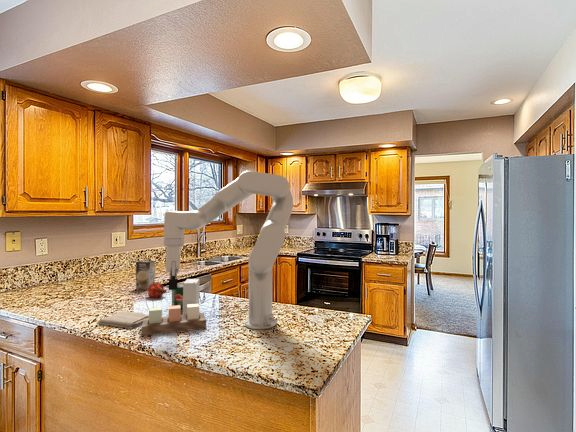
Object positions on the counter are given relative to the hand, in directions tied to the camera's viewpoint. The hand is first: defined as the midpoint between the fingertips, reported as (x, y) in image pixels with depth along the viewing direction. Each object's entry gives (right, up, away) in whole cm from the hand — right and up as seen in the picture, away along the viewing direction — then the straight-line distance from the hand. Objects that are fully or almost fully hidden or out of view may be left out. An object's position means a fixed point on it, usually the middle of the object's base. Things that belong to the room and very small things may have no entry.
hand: (172, 289), depth 129 cm
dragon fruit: (-25, -15, +47) cm, 56 cm away
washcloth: (-22, -16, +7) cm, 28 cm away
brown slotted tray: (+1, -15, 0) cm, 15 cm away
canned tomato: (-6, -15, +26) cm, 30 cm away
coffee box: (-40, -15, +68) cm, 80 cm away
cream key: (+7, -12, +3) cm, 14 cm away
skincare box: (+2, -15, +18) cm, 24 cm away
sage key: (-6, -12, -2) cm, 14 cm away
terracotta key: (+1, -12, 0) cm, 12 cm away
